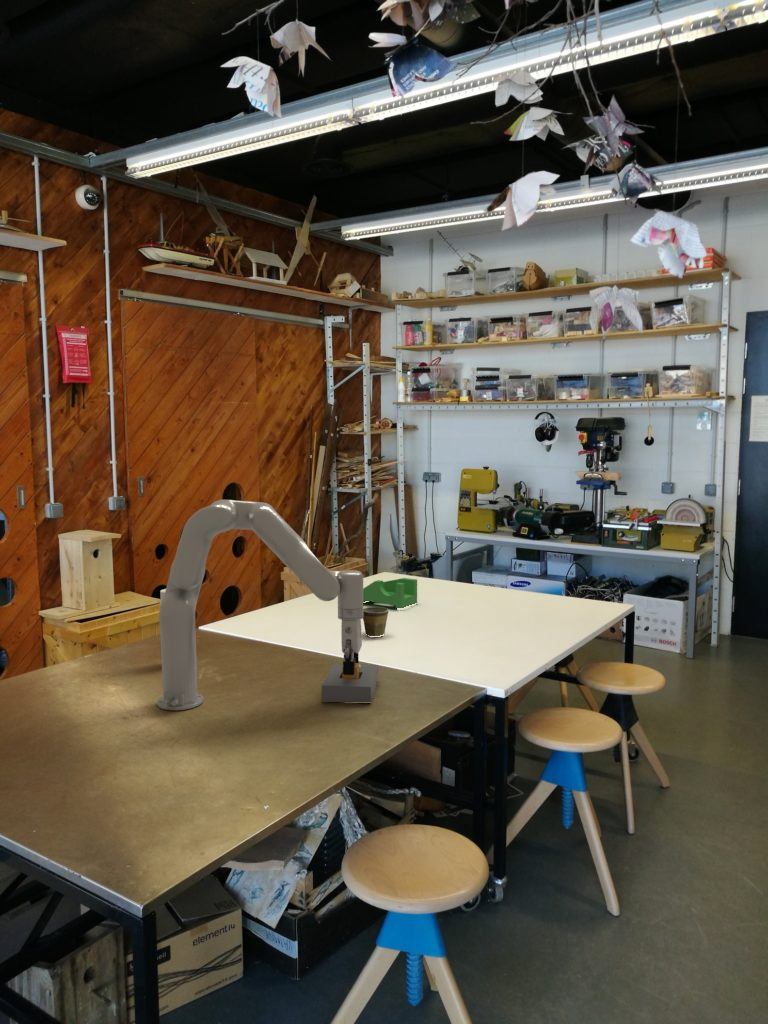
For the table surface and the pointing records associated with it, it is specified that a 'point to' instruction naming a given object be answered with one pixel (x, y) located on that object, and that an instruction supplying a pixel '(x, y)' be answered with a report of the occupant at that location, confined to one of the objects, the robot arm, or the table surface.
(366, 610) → the ceramic cup
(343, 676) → the plug
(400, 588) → the ramp block with notch
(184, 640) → the robot arm
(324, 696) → the socket
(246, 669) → the table surface
